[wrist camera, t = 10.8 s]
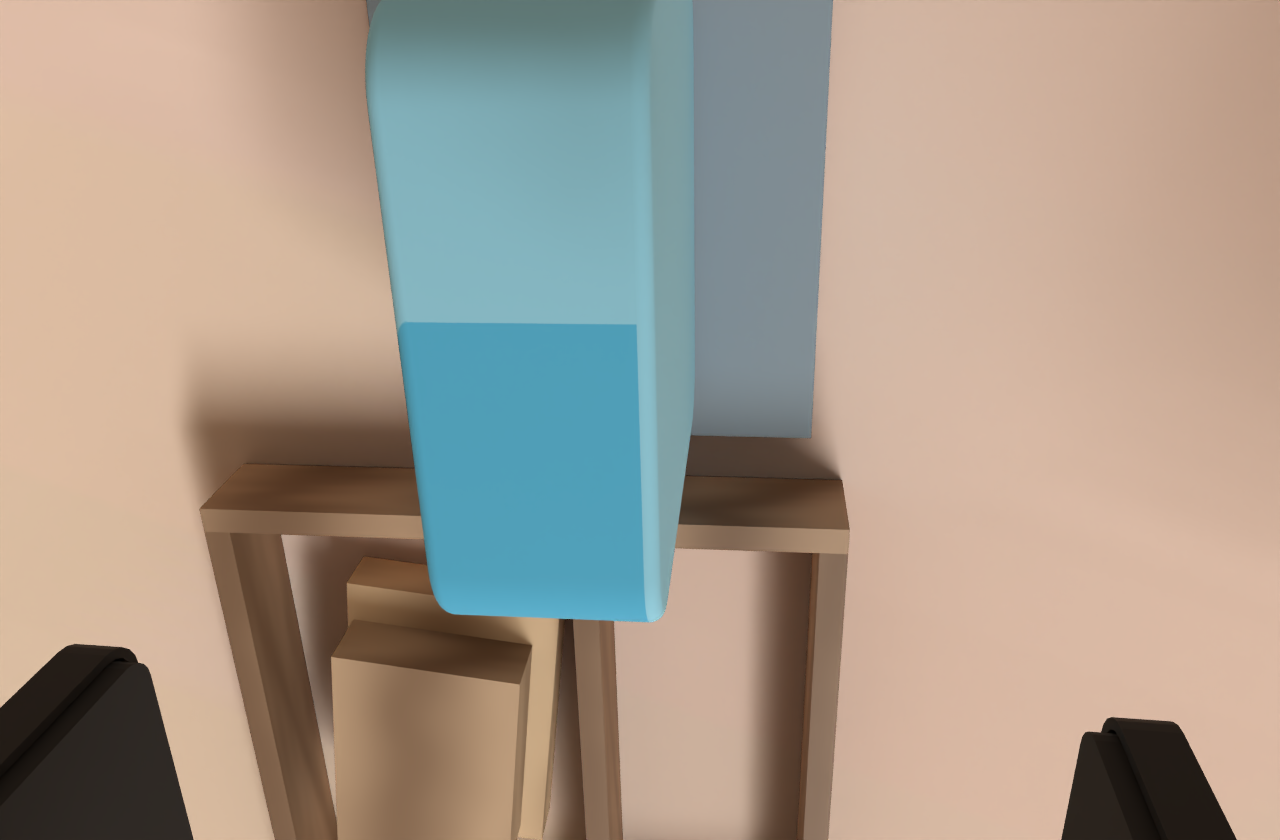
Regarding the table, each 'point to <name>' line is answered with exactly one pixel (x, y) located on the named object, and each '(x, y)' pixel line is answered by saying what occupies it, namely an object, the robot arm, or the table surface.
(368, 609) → the offcut stack
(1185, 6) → the table surface
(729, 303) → the mat
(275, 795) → the rack
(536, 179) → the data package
